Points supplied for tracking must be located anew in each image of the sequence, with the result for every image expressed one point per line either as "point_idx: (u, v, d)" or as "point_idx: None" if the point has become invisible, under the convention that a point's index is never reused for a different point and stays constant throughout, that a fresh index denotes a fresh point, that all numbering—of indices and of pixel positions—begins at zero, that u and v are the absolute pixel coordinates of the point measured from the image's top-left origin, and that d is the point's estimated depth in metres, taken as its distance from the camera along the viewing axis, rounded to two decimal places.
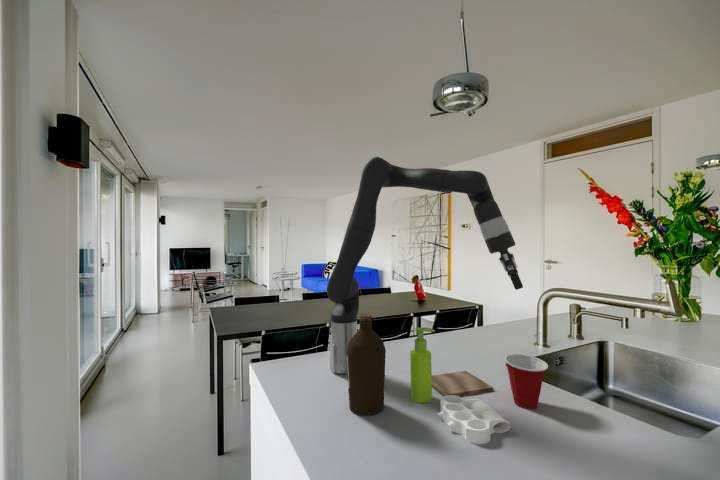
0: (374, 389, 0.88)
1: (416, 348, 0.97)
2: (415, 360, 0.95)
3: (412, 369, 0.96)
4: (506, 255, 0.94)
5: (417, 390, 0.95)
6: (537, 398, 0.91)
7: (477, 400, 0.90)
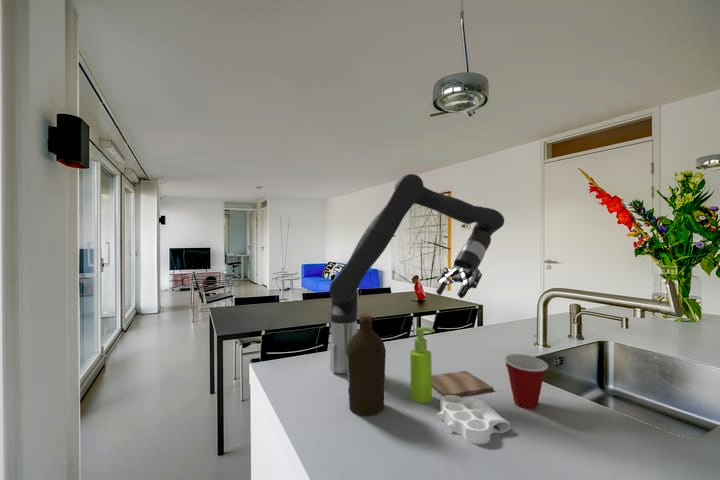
0: (374, 389, 0.88)
1: (416, 348, 0.97)
2: (415, 360, 0.95)
3: (412, 369, 0.96)
4: (480, 273, 1.06)
5: (417, 390, 0.95)
6: (537, 398, 0.91)
7: (477, 400, 0.90)
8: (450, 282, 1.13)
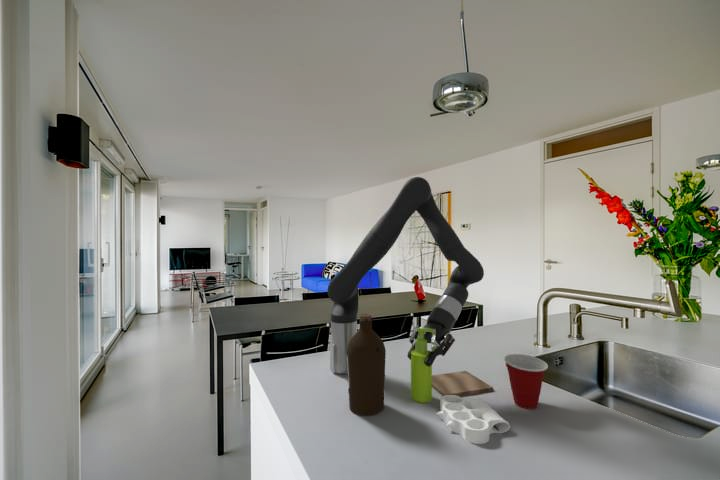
0: (374, 389, 0.88)
1: (417, 348, 0.97)
2: (416, 361, 0.95)
3: (412, 369, 0.96)
4: (452, 339, 0.95)
5: (418, 390, 0.95)
6: (537, 398, 0.91)
7: (477, 400, 0.90)
8: None
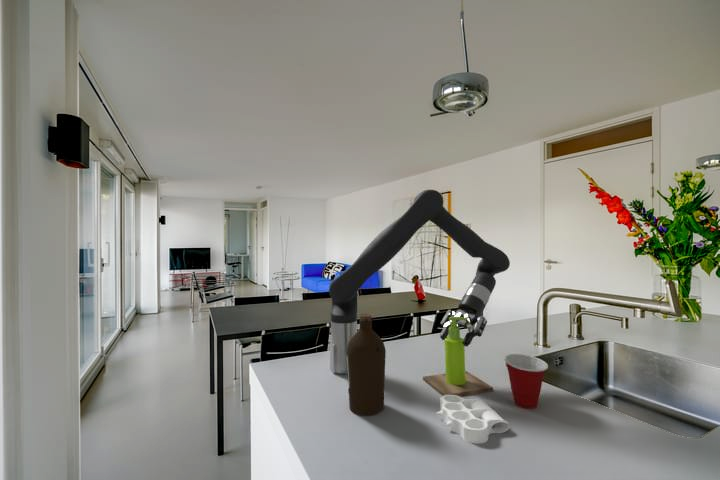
0: (374, 389, 0.88)
1: (450, 335, 1.06)
2: (450, 346, 1.04)
3: (447, 355, 1.05)
4: (485, 320, 1.04)
5: (453, 374, 1.04)
6: (537, 398, 0.91)
7: (477, 400, 0.90)
8: None
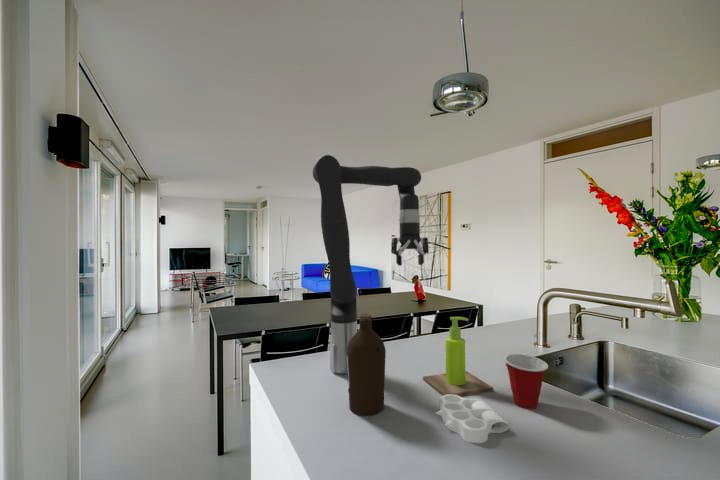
0: (374, 389, 0.88)
1: (451, 335, 1.06)
2: (451, 346, 1.04)
3: (448, 355, 1.05)
4: None
5: (453, 374, 1.04)
6: (537, 398, 0.91)
7: (477, 400, 0.90)
8: None
